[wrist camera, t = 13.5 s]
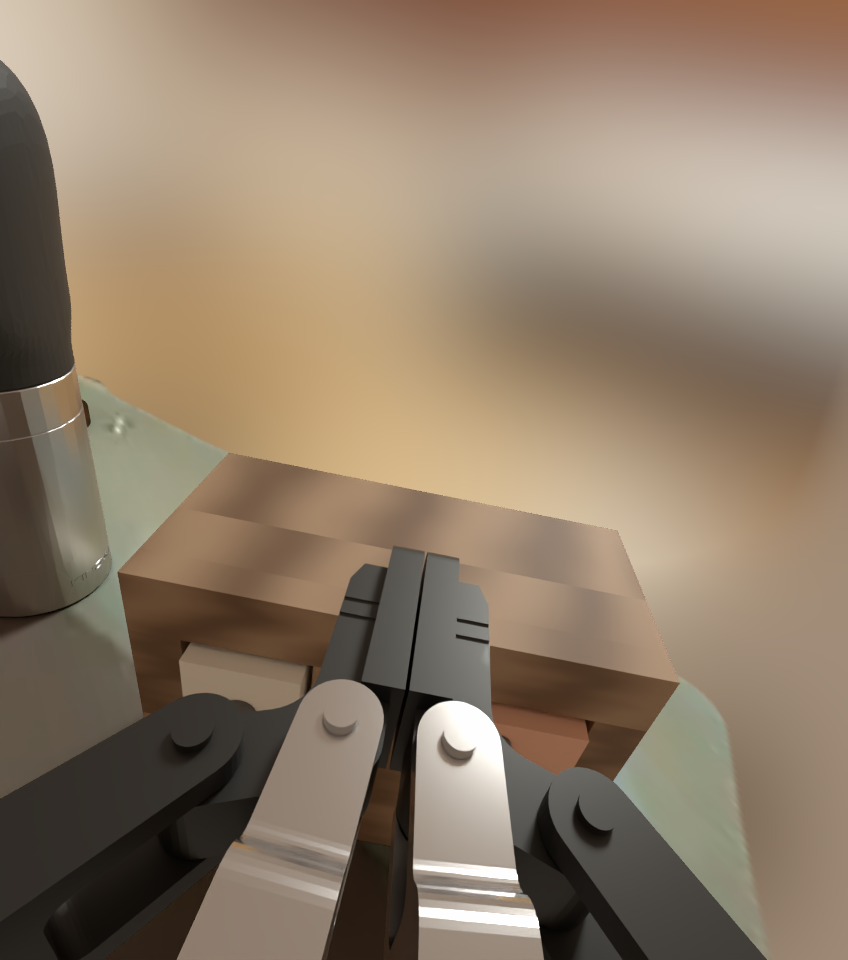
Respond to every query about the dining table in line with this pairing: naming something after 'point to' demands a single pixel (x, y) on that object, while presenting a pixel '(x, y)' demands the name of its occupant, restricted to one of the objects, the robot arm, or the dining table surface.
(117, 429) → the dining table surface
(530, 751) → the two dot button
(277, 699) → the one dot button
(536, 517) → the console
